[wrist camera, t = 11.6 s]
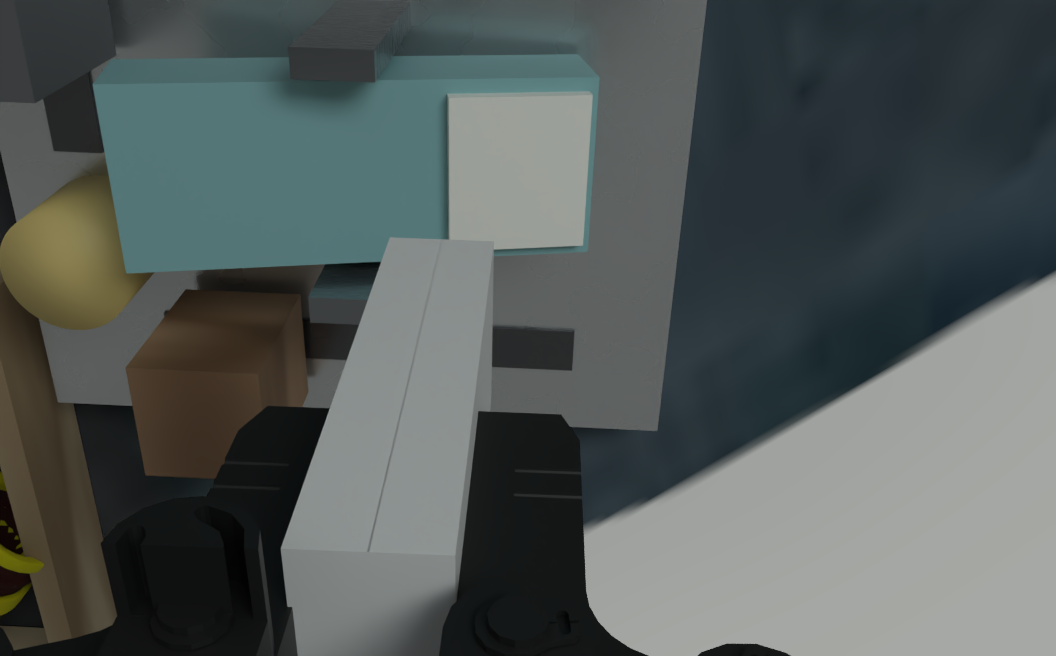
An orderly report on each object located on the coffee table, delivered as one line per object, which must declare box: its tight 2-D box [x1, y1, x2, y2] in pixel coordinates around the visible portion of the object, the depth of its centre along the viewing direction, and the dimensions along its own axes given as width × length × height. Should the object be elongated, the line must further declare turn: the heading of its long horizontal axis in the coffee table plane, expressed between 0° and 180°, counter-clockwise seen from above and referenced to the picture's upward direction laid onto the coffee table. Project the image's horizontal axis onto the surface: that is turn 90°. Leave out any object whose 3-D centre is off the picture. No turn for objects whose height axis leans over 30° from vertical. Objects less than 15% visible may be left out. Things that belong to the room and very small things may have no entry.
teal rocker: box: [93, 54, 600, 274], centre depth 22 cm, size 10×4×2 cm, turn 88°
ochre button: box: [0, 175, 155, 330], centre depth 24 cm, size 3×3×2 cm
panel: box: [0, 0, 707, 431], centre depth 23 cm, size 17×14×7 cm
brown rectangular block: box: [125, 289, 309, 479], centre depth 25 cm, size 3×3×4 cm
